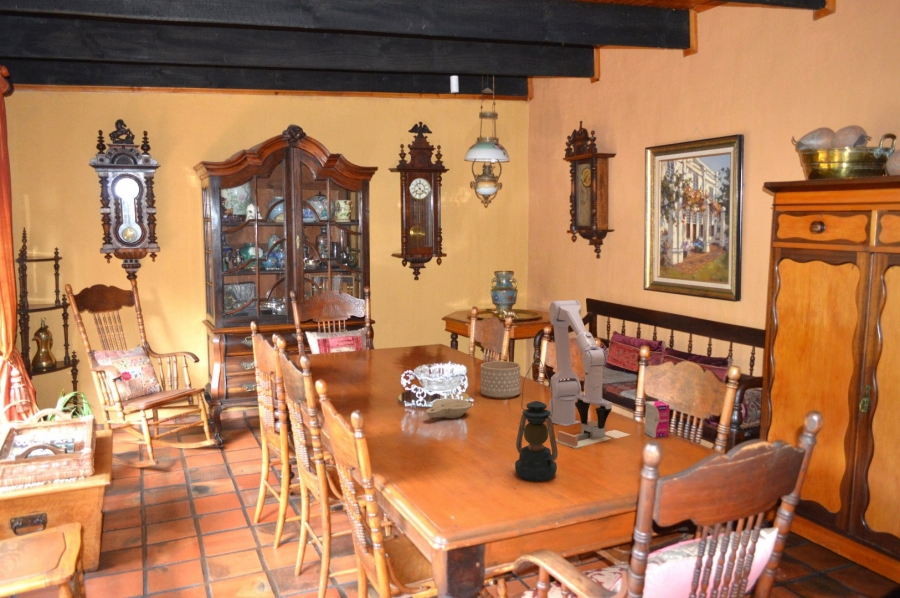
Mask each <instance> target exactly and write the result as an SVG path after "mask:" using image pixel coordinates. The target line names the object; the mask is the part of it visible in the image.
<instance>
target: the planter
mask: <svg viewBox="0 0 900 598" xmlns="http://www.w3.org/2000/svg"><path fill="white" fill-rule="evenodd" d="M480 393H481V395H484V396H485V397H486V398H490V399H497V400H498V399H499V400H500V399H501V400H506V399H507V400H508V399H511V398H512V397H513V398H515V397H516V396H517V395H519V394H521V364H519V363H517V362H513V361H505V360H504V361H503V360H496V361H494V360H493V361H486V362H483V363H481V364H480Z"/></svg>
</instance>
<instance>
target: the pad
mask: <svg viewBox="0 0 900 598" xmlns="http://www.w3.org/2000/svg"><path fill="white" fill-rule="evenodd" d="M630 435H631V434H630V433H626V432H624V431H620V430H616V429H613V430H609V431H605V436H606V437H609V438H613V439H619V438H624V437H628V436H630Z"/></svg>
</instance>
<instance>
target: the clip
mask: <svg viewBox="0 0 900 598" xmlns="http://www.w3.org/2000/svg"><path fill="white" fill-rule="evenodd" d="M580 427H581V431H580V432H581V434H585V433H589V432H590V439H591V440H594V439H598V438H602V437H606V435H605V432H606V425H605V426H604V428H602V429H598V420H597V421H596V420H591V421H587V422H586V423H581V426H580Z"/></svg>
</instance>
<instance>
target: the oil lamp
mask: <svg viewBox="0 0 900 598" xmlns="http://www.w3.org/2000/svg"><path fill="white" fill-rule="evenodd" d="M431 406H432V407H429V408H427V409H426V411H425V413H426V415H427V416H428V417H430V418H442V419H443V418H444V419H457V418H461V417H462V416H463V415H464V414H465V413H467V411H469V409H470V408H471V407H472V403H471V402H470V401H467V400H466V399H465V400H464V399H458V398H442V399H437V400H434V401H433V402H432V405H431Z"/></svg>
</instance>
